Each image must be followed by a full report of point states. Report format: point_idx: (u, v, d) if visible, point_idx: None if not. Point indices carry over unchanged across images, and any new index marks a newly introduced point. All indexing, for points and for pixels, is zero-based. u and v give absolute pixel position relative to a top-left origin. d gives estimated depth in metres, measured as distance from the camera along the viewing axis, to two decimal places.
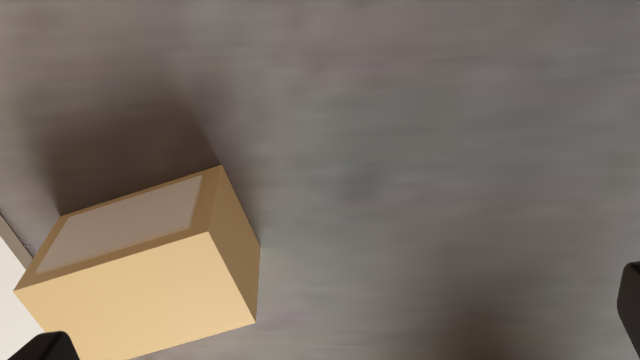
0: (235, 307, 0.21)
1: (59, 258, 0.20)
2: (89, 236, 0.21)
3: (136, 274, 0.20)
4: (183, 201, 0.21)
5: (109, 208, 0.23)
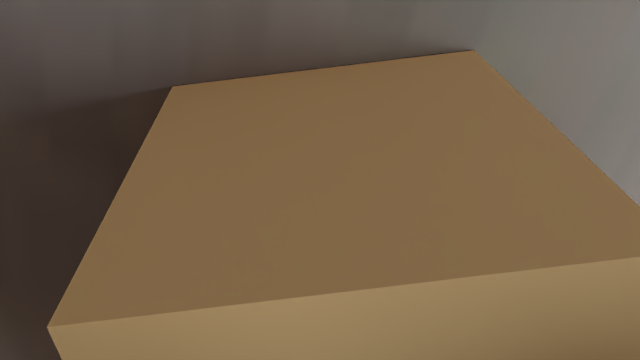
0: (541, 313, 0.04)
1: None
2: None
3: None
4: None
5: None
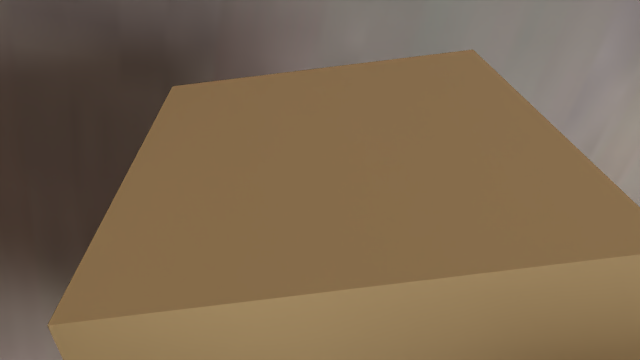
0: (540, 311, 0.04)
1: None
2: None
3: None
4: None
5: None
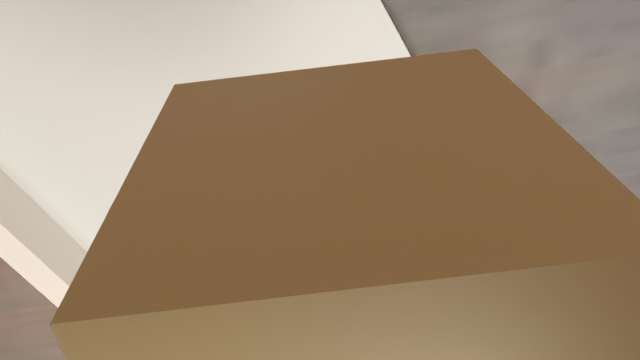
0: (547, 312, 0.04)
1: None
2: None
3: None
4: None
5: None
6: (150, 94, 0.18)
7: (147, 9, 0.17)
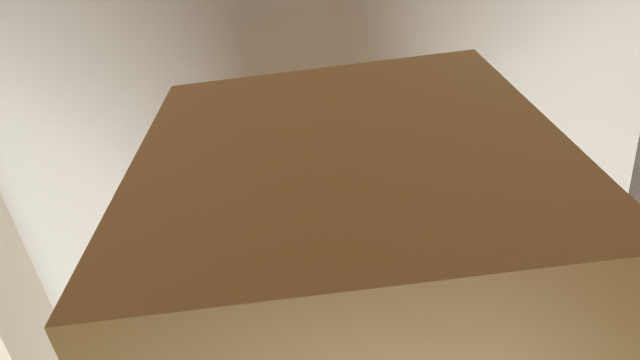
0: (543, 314, 0.04)
1: None
2: None
3: None
4: None
5: None
6: (256, 20, 0.11)
7: None
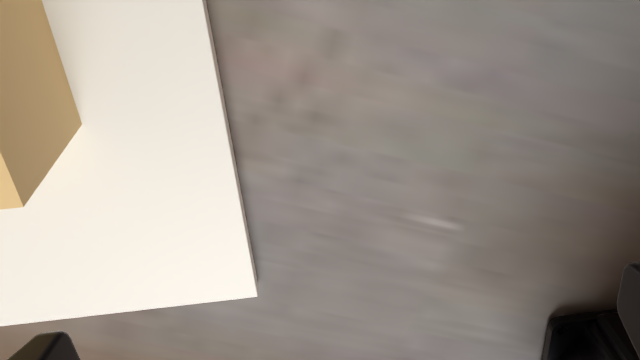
0: None
1: None
2: None
3: None
4: None
5: None
6: None
7: None
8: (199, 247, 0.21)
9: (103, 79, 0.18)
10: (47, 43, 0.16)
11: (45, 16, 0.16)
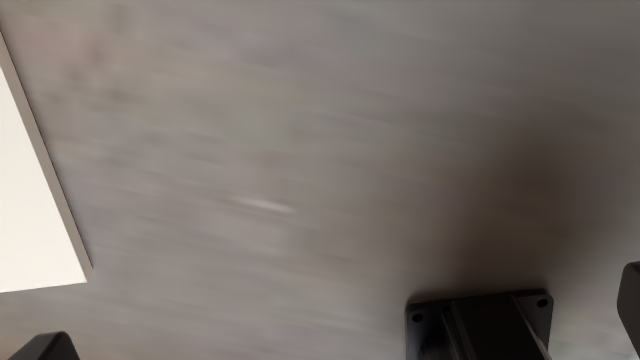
0: None
1: None
2: None
3: None
4: None
5: None
6: None
7: None
8: (15, 230, 0.21)
9: None
10: None
11: None
